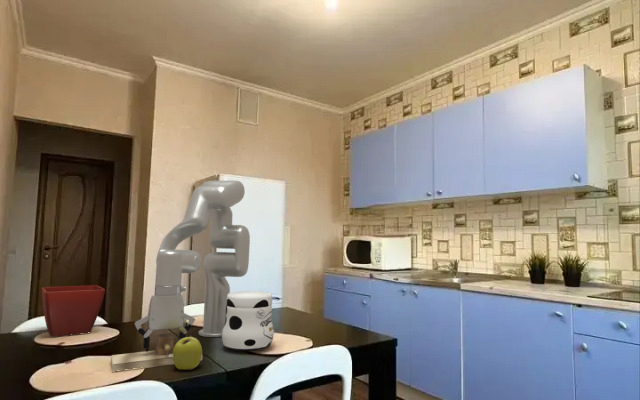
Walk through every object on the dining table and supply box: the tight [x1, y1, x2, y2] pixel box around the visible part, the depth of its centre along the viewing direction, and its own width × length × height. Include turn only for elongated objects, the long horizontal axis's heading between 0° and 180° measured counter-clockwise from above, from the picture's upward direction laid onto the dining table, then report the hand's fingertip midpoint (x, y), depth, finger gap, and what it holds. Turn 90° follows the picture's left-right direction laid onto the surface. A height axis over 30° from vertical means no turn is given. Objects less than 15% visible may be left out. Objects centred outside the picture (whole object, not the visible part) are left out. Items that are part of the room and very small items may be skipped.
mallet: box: [155, 332, 174, 356], centre depth 116 cm, size 4×10×5 cm, turn 31°
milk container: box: [221, 290, 275, 352], centre depth 133 cm, size 17×17×18 cm
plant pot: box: [41, 284, 106, 337], centre depth 150 cm, size 19×19×17 cm
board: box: [110, 347, 204, 371], centre depth 115 cm, size 24×10×2 cm, turn 121°
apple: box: [173, 332, 203, 371], centre depth 110 cm, size 8×8×10 cm
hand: (164, 348), depth 117 cm, fingers open, 9 cm apart
